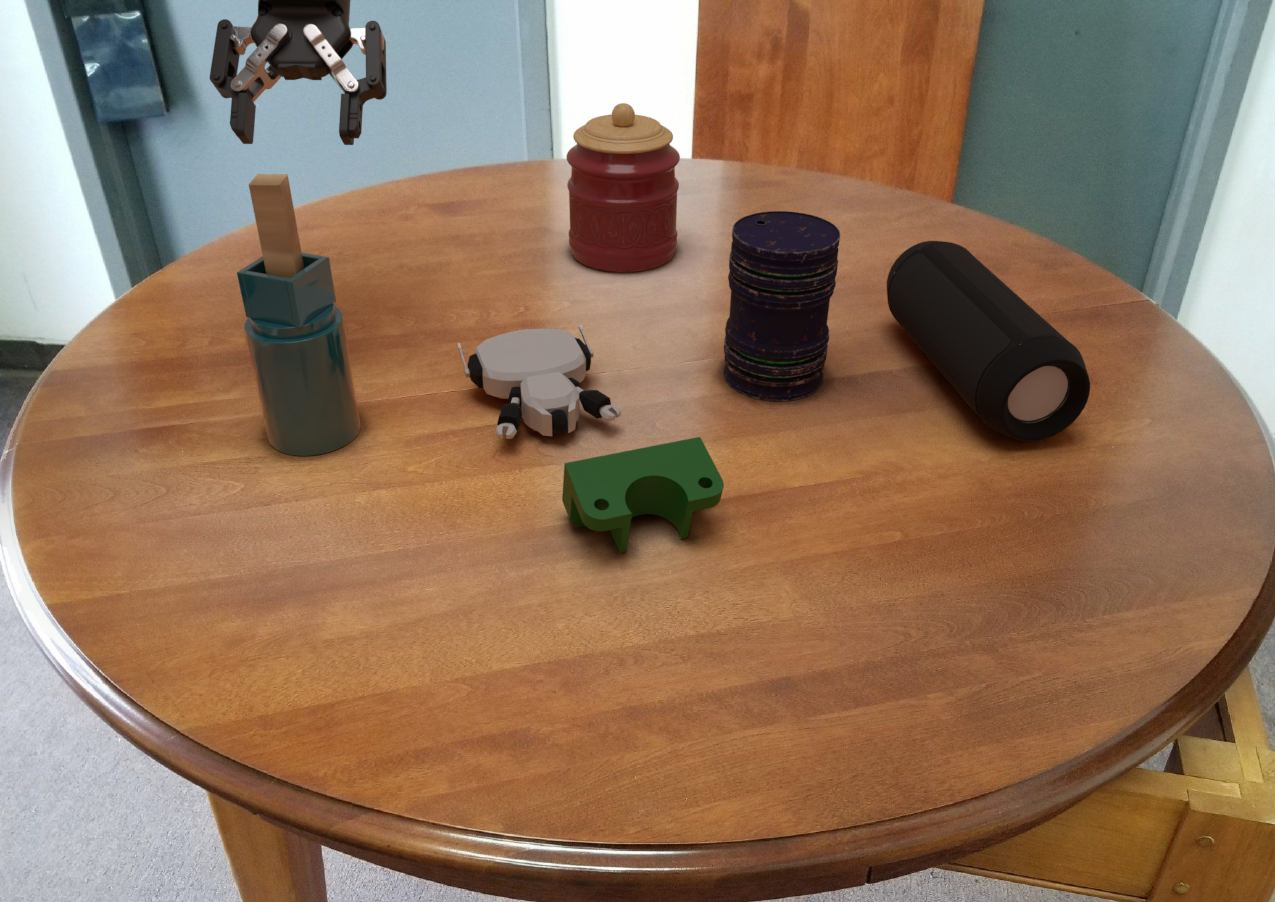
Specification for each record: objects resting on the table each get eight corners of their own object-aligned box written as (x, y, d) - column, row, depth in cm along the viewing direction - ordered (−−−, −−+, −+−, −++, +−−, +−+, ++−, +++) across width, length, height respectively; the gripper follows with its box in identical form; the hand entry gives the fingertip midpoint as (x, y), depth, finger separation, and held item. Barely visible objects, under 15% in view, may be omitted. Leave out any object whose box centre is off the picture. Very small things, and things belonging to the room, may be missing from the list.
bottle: (249, 445, 93) (210, 276, 84) (302, 401, 100) (271, 239, 91) (328, 463, 91) (296, 292, 82) (377, 417, 97) (353, 252, 89)
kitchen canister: (612, 223, 137) (611, 81, 127) (697, 247, 130) (704, 100, 120) (546, 256, 128) (540, 106, 118) (635, 284, 122) (636, 128, 112)
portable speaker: (1083, 445, 95) (1113, 345, 89) (979, 456, 93) (1002, 355, 87) (958, 317, 115) (976, 229, 110) (871, 324, 114) (885, 235, 108)
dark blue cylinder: (844, 375, 105) (863, 230, 96) (784, 413, 99) (799, 263, 90) (763, 341, 110) (774, 202, 102) (701, 376, 104) (708, 231, 96)
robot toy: (628, 442, 96) (579, 354, 107) (630, 400, 93) (579, 315, 104) (494, 467, 92) (457, 374, 103) (491, 424, 90) (454, 333, 101)
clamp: (605, 589, 85) (566, 533, 77) (582, 532, 88) (543, 473, 81) (742, 523, 84) (716, 461, 77) (713, 468, 88) (686, 404, 81)
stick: (281, 301, 90) (257, 173, 84) (310, 301, 90) (287, 173, 84) (274, 314, 88) (248, 184, 82) (303, 314, 88) (279, 184, 82)
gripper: (208, -62, 89) (192, 117, 86) (379, -61, 89) (370, 118, 86) (240, -7, 97) (226, 160, 93) (398, -6, 97) (390, 161, 94)
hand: (295, 140), depth 90 cm, fingers open, 8 cm apart
